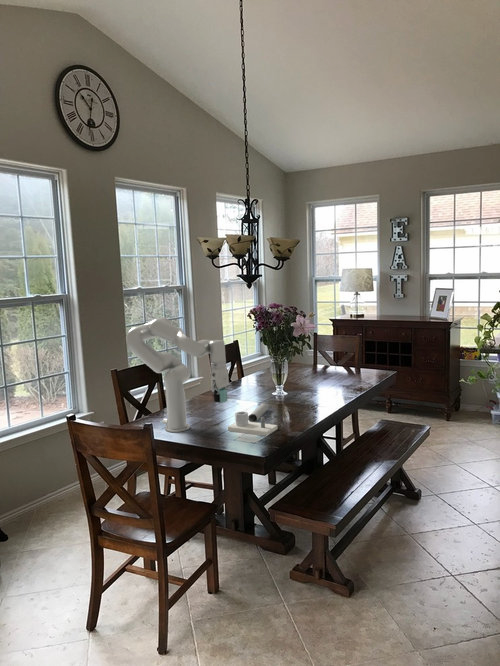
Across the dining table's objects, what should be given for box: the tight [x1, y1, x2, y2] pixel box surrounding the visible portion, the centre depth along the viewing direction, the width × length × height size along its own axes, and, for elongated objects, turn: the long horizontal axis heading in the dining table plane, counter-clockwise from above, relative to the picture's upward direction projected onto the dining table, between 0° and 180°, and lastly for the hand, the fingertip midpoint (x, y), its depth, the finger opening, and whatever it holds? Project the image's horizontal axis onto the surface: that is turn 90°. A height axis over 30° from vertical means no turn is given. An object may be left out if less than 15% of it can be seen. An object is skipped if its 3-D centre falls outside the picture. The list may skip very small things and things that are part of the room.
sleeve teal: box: [216, 388, 228, 404], centre depth 271 cm, size 6×6×6 cm
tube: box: [248, 402, 269, 423], centre depth 297 cm, size 5×5×25 cm
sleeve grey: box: [234, 411, 249, 427], centre depth 276 cm, size 6×6×6 cm
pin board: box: [227, 416, 278, 437], centre depth 273 cm, size 22×12×7 cm, turn 62°
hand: (220, 399), depth 272 cm, fingers closed on sleeve teal, 6 cm apart
